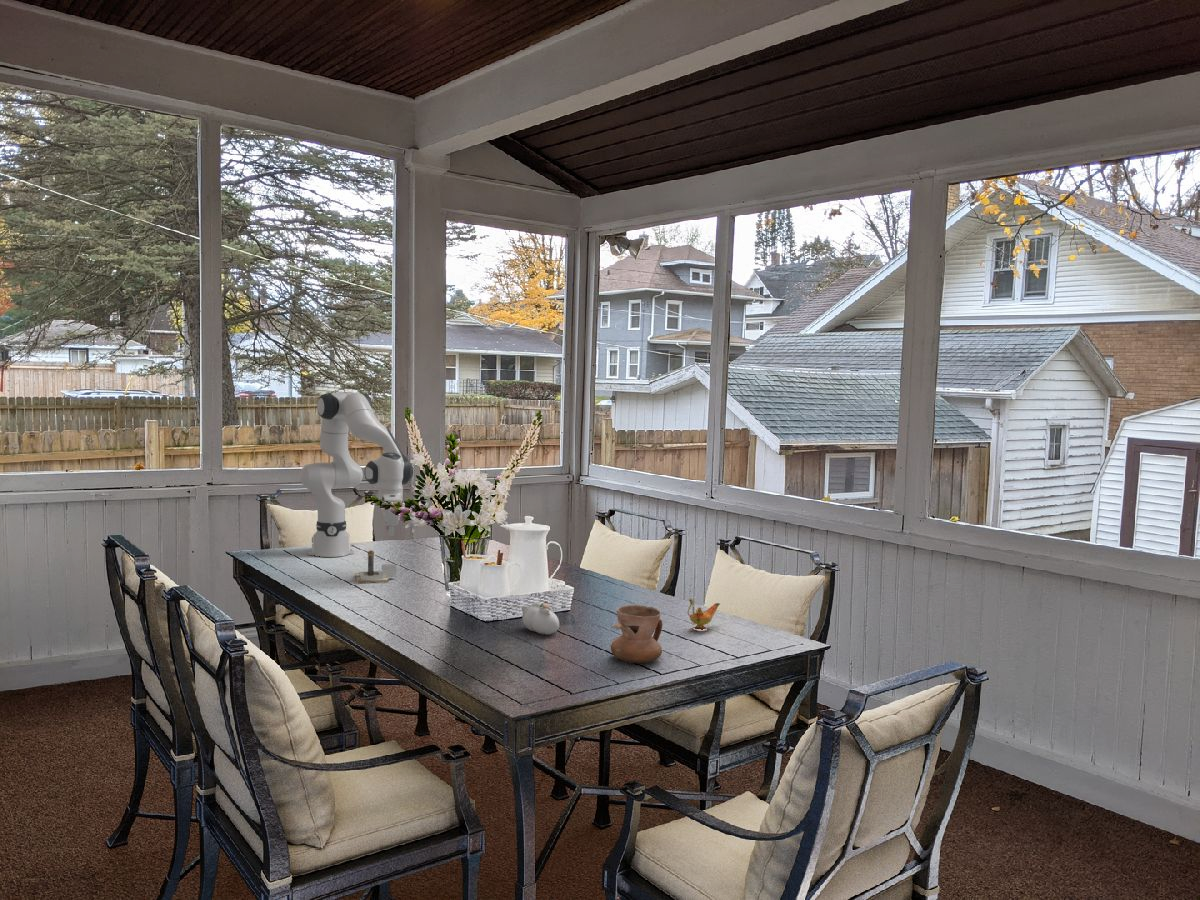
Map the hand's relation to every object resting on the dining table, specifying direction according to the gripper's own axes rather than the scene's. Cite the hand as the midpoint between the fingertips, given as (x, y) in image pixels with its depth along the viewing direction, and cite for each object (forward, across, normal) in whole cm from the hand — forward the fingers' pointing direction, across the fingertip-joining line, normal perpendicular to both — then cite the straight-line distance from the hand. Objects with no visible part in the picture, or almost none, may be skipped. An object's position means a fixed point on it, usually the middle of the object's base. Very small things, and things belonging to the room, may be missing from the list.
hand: (389, 532), depth 336 cm
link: (+17, +1, -4) cm, 17 cm away
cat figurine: (+16, +79, +37) cm, 88 cm away
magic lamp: (+16, +87, +89) cm, 125 cm away
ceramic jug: (+16, +111, +57) cm, 126 cm away
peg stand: (+18, -1, -6) cm, 19 cm away
